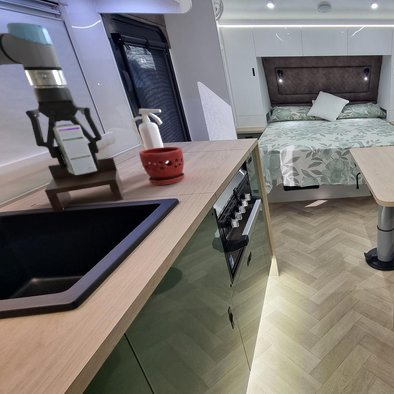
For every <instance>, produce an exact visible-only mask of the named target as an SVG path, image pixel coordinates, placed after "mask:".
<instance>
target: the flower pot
mask: <svg viewBox="0 0 394 394" xmlns="http://www.w3.org/2000/svg"><path fill="white" fill-rule="evenodd" d="M138 153H139V159H140V162H141V166H142V165H143V167H144V169H145V171H144V172H146V173H147V175H148V176H149V178H148V181H149V183H151V184H153V185H159V186H165V185H171V184H175V183H178V182H181V181H182V180H183V179H184V178H185V176H186V174H185V173H184V172H183V170H184V167H185V165H184V164H185V161H184V154H183V150H182V148H181V147H178V146H164V147H162V148H153V149H148V150H143V149H142V150H141V151H139V152H138ZM167 161H168V163H166V162H167ZM154 163H155V164H156V165H155V164H154Z"/></svg>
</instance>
